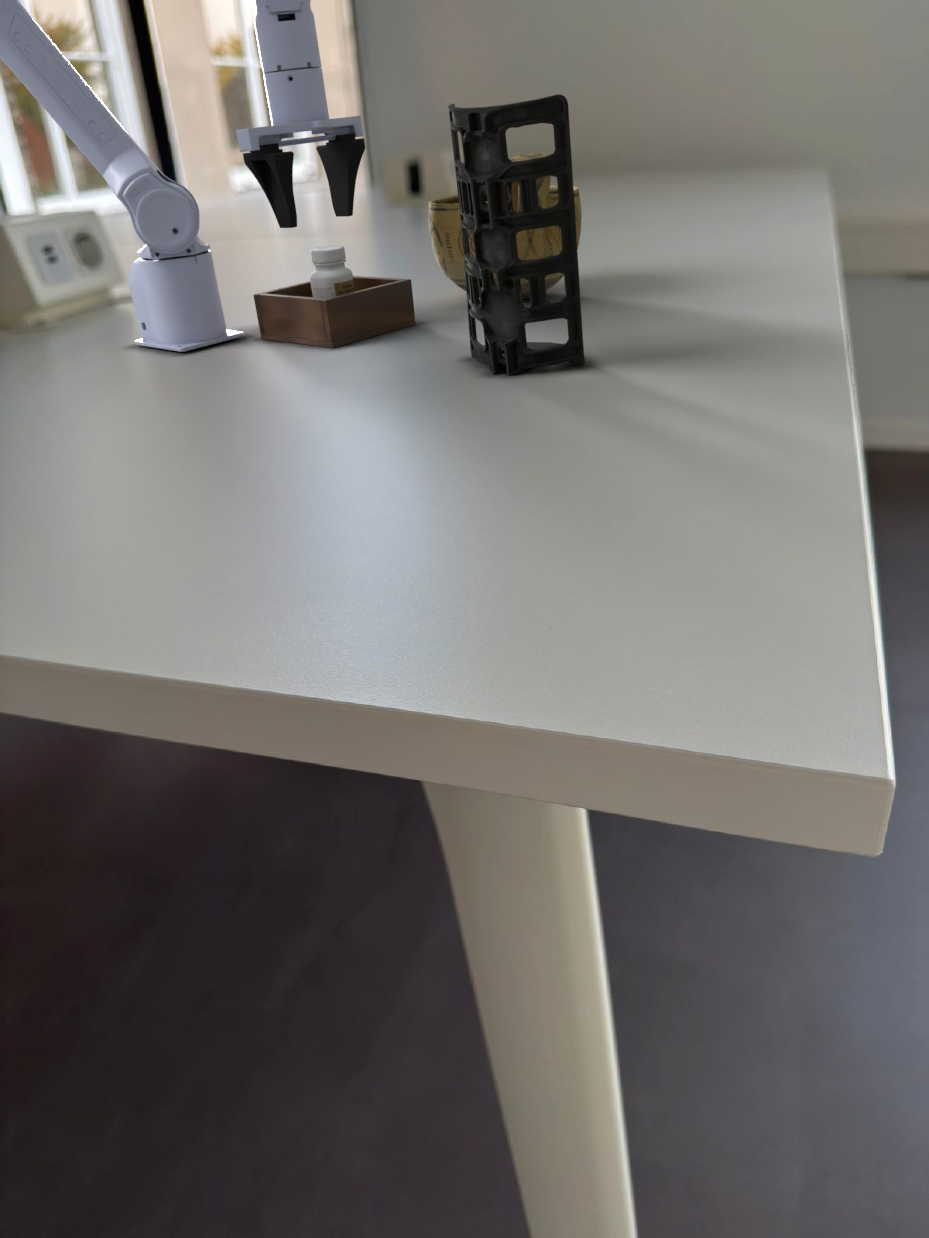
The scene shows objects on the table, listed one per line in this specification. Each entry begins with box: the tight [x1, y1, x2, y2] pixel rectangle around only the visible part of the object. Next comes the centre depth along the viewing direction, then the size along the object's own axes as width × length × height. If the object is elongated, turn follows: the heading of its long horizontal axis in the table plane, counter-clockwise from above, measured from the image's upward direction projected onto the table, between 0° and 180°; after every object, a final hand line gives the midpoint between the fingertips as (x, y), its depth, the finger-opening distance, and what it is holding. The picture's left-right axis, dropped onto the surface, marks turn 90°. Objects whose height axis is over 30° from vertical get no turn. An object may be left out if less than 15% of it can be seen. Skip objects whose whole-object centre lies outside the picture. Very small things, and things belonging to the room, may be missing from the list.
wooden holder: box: [253, 275, 417, 349], centre depth 98 cm, size 12×12×4 cm
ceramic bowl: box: [428, 151, 582, 300], centre depth 105 cm, size 22×17×15 cm
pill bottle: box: [309, 245, 355, 299], centre depth 97 cm, size 4×4×8 cm
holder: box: [447, 93, 586, 376], centre depth 74 cm, size 11×8×20 cm
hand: (317, 221), depth 98 cm, fingers open, 7 cm apart
